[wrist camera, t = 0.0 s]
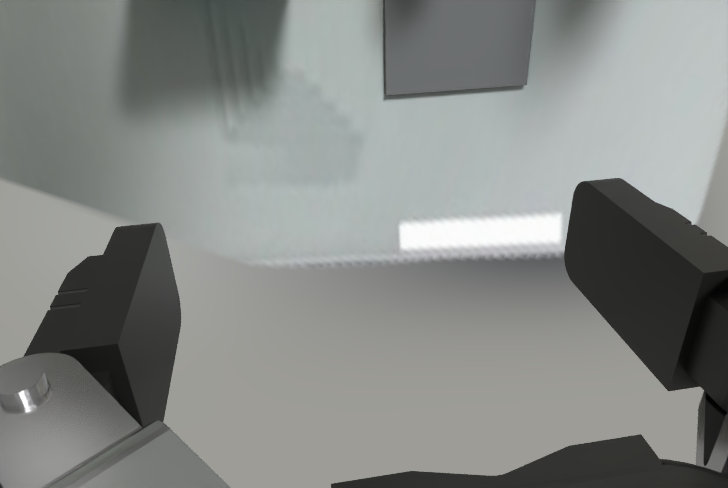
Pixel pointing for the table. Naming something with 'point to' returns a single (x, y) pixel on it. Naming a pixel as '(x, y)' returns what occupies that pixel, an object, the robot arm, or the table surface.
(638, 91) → the table surface
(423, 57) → the tool mat
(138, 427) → the robot arm
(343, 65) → the table surface
